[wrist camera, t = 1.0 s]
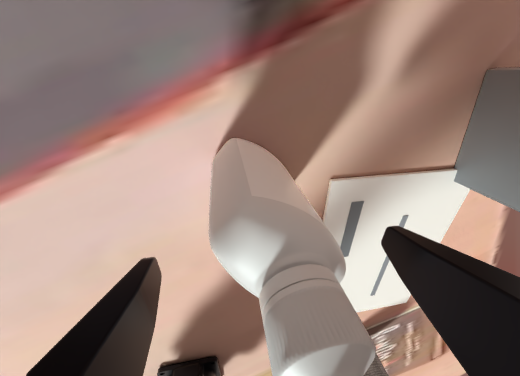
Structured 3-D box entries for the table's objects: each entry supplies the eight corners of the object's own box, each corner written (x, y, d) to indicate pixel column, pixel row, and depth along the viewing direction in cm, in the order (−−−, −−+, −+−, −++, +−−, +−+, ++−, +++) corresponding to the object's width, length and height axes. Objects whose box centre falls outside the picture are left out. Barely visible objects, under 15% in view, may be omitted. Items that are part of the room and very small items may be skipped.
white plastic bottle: (272, 119, 12) (559, 367, 2) (295, 193, 15) (460, 453, 5) (204, 146, 12) (139, 522, 2) (239, 215, 15) (286, 517, 5)
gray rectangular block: (459, 177, 17) (539, 212, 13) (450, 179, 17) (527, 215, 13) (499, 67, 13) (634, 65, 9) (486, 70, 13) (617, 69, 9)
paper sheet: (404, 300, 26) (406, 303, 26) (304, 319, 24) (305, 323, 24) (478, 166, 17) (483, 168, 17) (329, 179, 15) (332, 181, 15)
